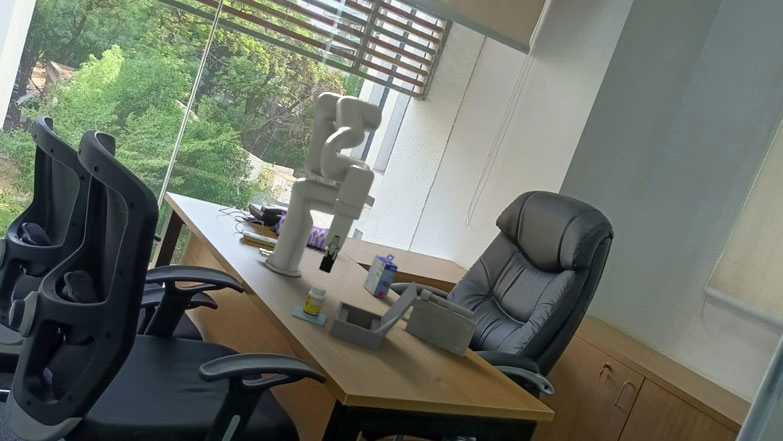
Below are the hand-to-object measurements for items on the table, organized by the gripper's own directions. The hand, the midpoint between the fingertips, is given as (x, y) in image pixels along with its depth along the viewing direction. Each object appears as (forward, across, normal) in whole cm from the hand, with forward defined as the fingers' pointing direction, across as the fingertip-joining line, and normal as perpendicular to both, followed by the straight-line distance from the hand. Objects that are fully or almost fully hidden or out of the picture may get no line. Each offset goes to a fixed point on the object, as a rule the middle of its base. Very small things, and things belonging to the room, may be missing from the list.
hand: (326, 266), depth 185 cm
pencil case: (+18, -84, -15) cm, 87 cm away
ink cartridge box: (+16, -47, +18) cm, 53 cm away
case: (+14, +2, +17) cm, 22 cm away
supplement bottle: (+14, +1, 0) cm, 15 cm away
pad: (+15, +1, 0) cm, 15 cm away
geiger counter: (+15, -15, +36) cm, 42 cm away
